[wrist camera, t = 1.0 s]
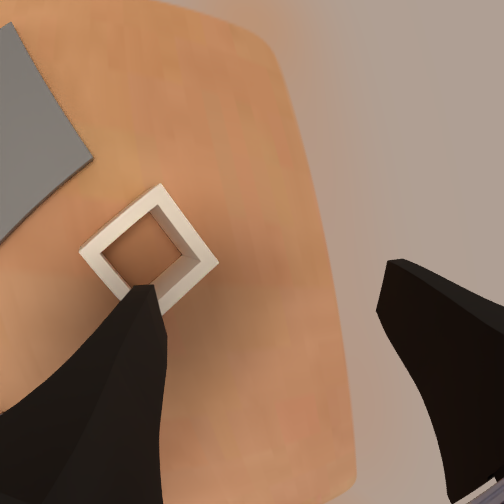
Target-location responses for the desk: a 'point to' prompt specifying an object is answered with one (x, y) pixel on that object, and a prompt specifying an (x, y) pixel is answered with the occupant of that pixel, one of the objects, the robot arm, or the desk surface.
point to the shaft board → (31, 136)
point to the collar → (177, 229)
